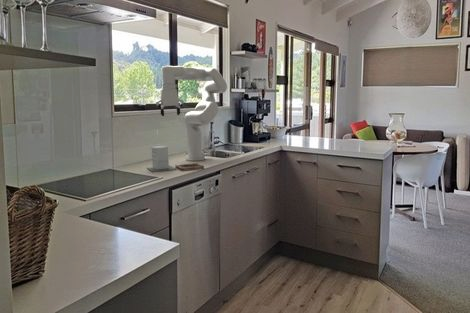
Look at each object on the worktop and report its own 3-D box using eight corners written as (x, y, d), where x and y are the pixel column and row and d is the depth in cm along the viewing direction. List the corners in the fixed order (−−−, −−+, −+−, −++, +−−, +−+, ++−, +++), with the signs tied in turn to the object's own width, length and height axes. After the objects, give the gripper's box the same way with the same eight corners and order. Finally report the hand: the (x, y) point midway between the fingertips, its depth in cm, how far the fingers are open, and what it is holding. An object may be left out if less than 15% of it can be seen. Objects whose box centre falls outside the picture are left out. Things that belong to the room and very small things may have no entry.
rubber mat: (169, 166, 245) (169, 165, 245) (176, 169, 232) (176, 168, 232) (146, 168, 239) (146, 167, 239) (152, 172, 226) (152, 171, 226)
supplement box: (164, 166, 241) (163, 145, 239) (169, 168, 234) (168, 146, 232) (152, 168, 237) (151, 146, 235) (157, 170, 231) (155, 147, 229)
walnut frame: (196, 165, 245) (196, 163, 244) (203, 168, 233) (203, 166, 233) (175, 167, 239) (175, 165, 239) (182, 171, 228) (181, 168, 227)
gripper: (180, 86, 252) (182, 114, 255) (153, 87, 245) (155, 115, 248) (184, 86, 246) (186, 114, 248) (156, 87, 239) (158, 116, 241)
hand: (170, 115), depth 248 cm, fingers open, 9 cm apart
